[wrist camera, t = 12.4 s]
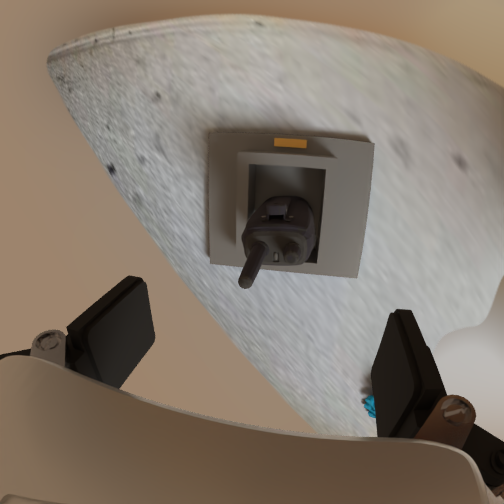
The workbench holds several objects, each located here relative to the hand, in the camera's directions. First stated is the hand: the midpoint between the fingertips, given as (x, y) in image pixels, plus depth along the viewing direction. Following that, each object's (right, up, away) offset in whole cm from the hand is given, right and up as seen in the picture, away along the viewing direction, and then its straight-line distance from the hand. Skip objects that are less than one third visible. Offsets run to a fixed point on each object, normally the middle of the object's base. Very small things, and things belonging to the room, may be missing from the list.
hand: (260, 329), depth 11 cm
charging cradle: (+3, +8, +19) cm, 21 cm away
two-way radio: (+3, +7, +18) cm, 20 cm away
